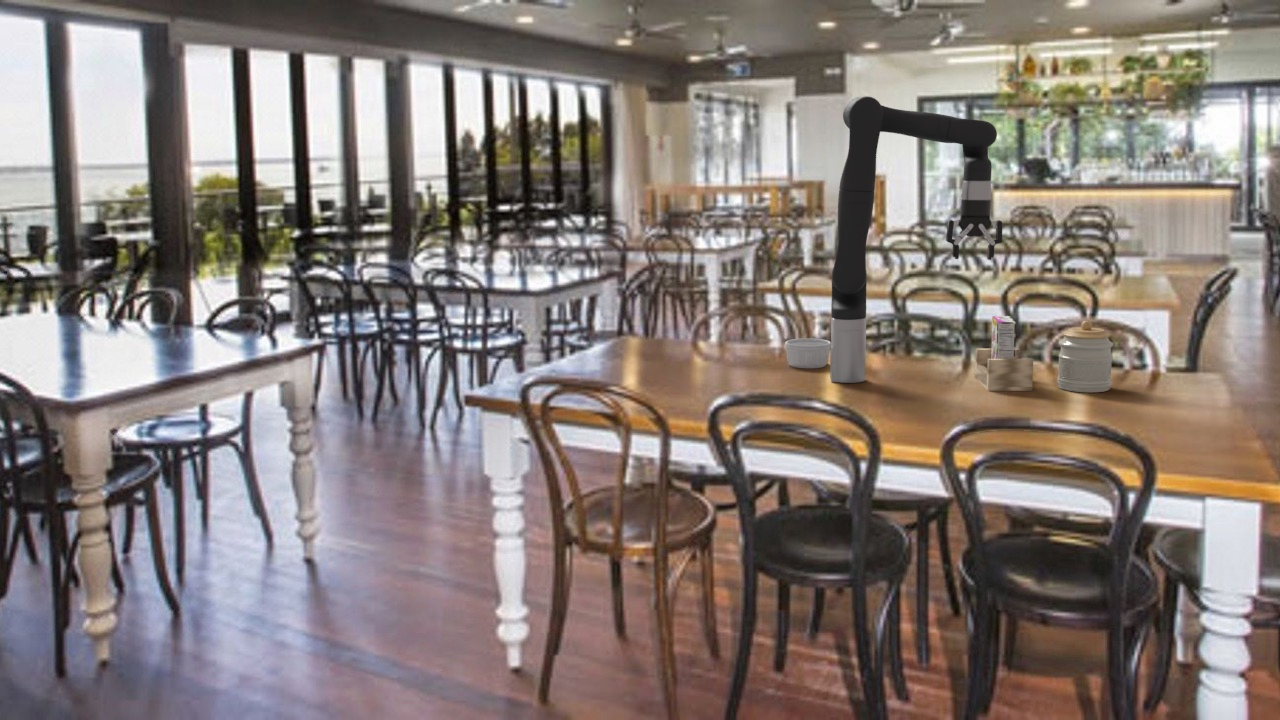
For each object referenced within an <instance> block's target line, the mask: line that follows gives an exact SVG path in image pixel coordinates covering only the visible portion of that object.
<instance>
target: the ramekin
mask: <svg viewBox="0 0 1280 720" xmlns="http://www.w3.org/2000/svg"><path fill="white" fill-rule="evenodd" d="M784 345H785V349H786V350H785V351H786V359H787V363H788V364H789V366H791V367H793V368H798V369H819V368H823V367H826V365H828V362H829V359H830V358H829V357H830V345H831V341H830V340H827V339H821V338H794V339H789V340H786V341H785V344H784Z"/></svg>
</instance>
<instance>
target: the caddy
mask: <svg viewBox="0 0 1280 720" xmlns="http://www.w3.org/2000/svg"><path fill="white" fill-rule="evenodd" d="M991 352H992V347H991V348H990V347H989V348H980V347H979V348H975V362H974V363H975V366H974V367H975V369H974V372H975V373H974V379H976V380H977V381H978V382H979V383H980V384H981V385H982V386H983V387H984V388H985V389H986V391H988V392H990V391H991V392H997V391H998V392H1001V391H1002V392H1003V391H1004V392H1010V391H1011V392H1017V391H1018V392H1022V391H1023V392H1024V391H1025V392H1028V391H1030V392H1031V391H1033V381H1034V380H1033V377H1034V376H1033V375H1034V359H1033V358H1020V348H1017V347H1015V359H991Z"/></svg>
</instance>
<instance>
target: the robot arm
mask: <svg viewBox="0 0 1280 720" xmlns="http://www.w3.org/2000/svg"><path fill="white" fill-rule="evenodd" d="M842 112H843V113H842V119H843V123H844V124H845V126H846V127H847V128H848V129H849V131H848V133H849V136H848V137H849V138H848V139H849V140H848V141H849V142H848V150H847V152H848V153H847V156H846V161H845V163H844V165H843V170H842V173H841V178H840V182H839V188H838V199H837V233H838V234H837V235H838V237H837V240H838V241H837V248H836V254H835V259H834V260H835V261H834V264H833V267H832V271H831V304H830V305H831V307H830V310H831V313H830V314H831V318H830V319H831V321H830V322H831V328H830V330H831V331H830V340H831V341H830V342H831V345H830V351H829V357H830V358H829V359H830V360H829V363H830V365H829V375H830V376H829V378H830V381H831V382H832V383H842V384H855V383H857V384H858V383H862V382H865V381H866V354H867V353H866V350H867V348H866V346H867V341H866V340H867V336H866V335H867V282H868V281H867V278H868V277H867V275H868V274H867V258H866V257H867V255H866V254H867V251H866V249H867V241H868V234H869V231H870V226H871V221H872V216H873V210H874V202H875V192H876V191H875V190H876V176H877V175H876V171H877V154H878V153H877V151H878V145H879V139H880V134H881V133H892V134H898V135H903V136H909V137H913V138H917V139H920V140H921V139H922V140H926V141H932V142H937V143H945V144H958V145H962V155H963V162H964V167H963V179H962V180H963V181H962V185H961V186H962V187H961V194H960V195H961V196H960V198H961V199H960V200H961V201H960V217H959V220H954V219H948V221H947V229H946V236H945V241H946V242H948V243H950V244H951V246H952V257H953V258H954V259H955V260H959V255H960V245H959V244H960V243H961V241H962V240H964V238H965V237H966V236H967V237H969V238H971V237H976V238H977V237H978V238H979V237H982V236H983V238H984V239H985V240H986V242H988V245H987V256H986V259H987V260H988V261H989V260H990V261H991V260H992V258H994V257H995V246H996V245H999V244H1002V243H1003V221H1002V220H1000V219H998V220H991V202H992V181H991V180H992V162H991V159H990V158H989V147H991V146H992V145H993V144H994V143H995V142H996V140H997V137H998V133H997V128H996V127H995V125H993V124H992V123H990V122H989V121H985V120H979V119H971V118H970V119H969V118H961V117H960V118H959V117H955V116H951V115H947V114H939V113H935V112H934V113H933V112H926V111H915V110H904V109H897V108H893V107H889V106H885V105H881V103H880V101H878V100H877V99H876V98H875V97H872V96H860V97H856V98H853V99H852V100H851V101H849V102H848V103H847V104H846V105H845V107H844V109H843V111H842ZM957 226H958V227H959V228H960V229H961V230H960V232H958V234H957V236H956V237H955V238H953V233H954V229H956V228H957ZM991 226H993V229H995V239H994V238H993V237H992V236H991V234H990V233H989V231H988V230H989V229H990V227H991Z"/></svg>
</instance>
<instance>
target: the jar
mask: <svg viewBox="0 0 1280 720" xmlns="http://www.w3.org/2000/svg"><path fill="white" fill-rule="evenodd" d="M1062 335H1063V336H1064V337H1063V339H1061V340H1059V342H1058V344H1059V346H1060V352H1059V354H1058V355H1057V356H1058V370H1057V371H1058V375H1057V378H1056V381H1057V386H1058V388H1059V389H1061V390H1063V391H1064V390H1065V391H1070V392H1076V393H1102V392H1103V393H1104V392H1107V391H1109V390H1110V389H1111V385H1112V376H1111V375H1112V363H1113V361H1112V360H1113V355H1112V353H1111V352H1112V351H1111V348H1112V347H1113V346H1114V343H1113V342H1112V341H1110V339H1109V337H1111V334H1110V333H1109V332H1107V331H1105V329H1103V328H1099V327H1093V323H1092V321H1090V320H1083V321H1082V322H1081V325H1080V326H1078V327H1077V326H1076V327H1070V328H1068V329H1067V330H1065V331H1064V332H1062Z"/></svg>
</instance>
